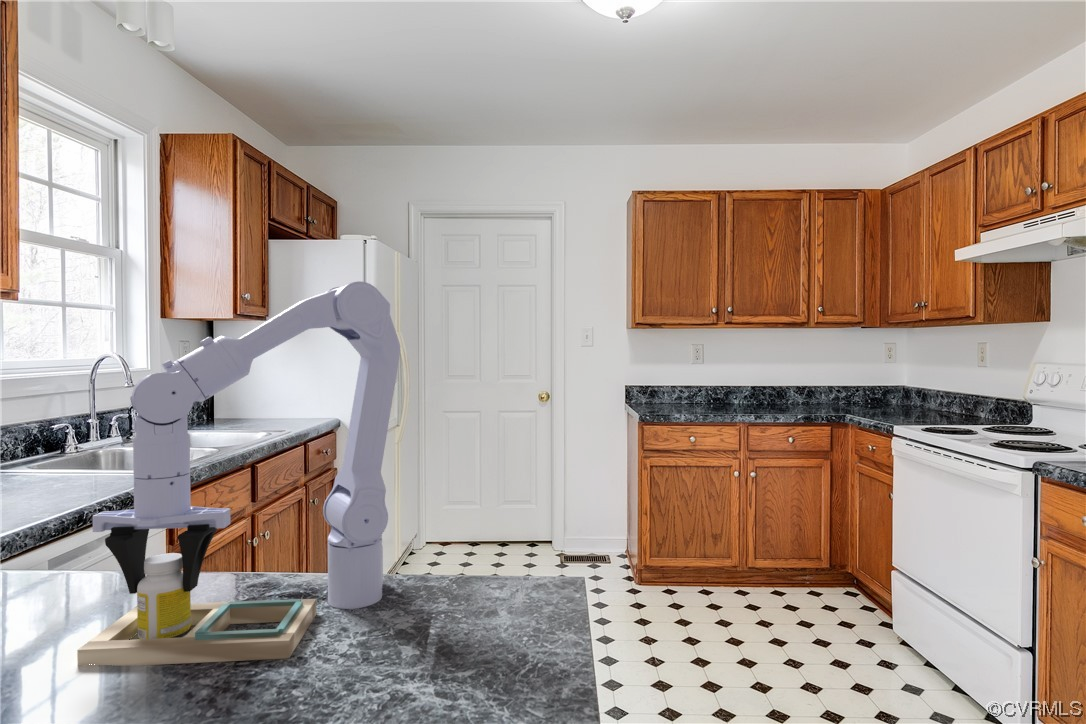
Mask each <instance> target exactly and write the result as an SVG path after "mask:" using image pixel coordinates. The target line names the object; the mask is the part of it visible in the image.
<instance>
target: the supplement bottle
mask: <svg viewBox="0 0 1086 724" xmlns="http://www.w3.org/2000/svg"><path fill="white" fill-rule="evenodd" d="M144 573H145V574H146V577H144V578H143V579H142V580H141V581H140V582H139V583H138V586H137V593H136V595H137V598H136V599H137V601H136V602H137V604H136V606H137V620H138V633H137V639H158V638H181V637H185V636H186V635H187V634H188V633H189V632H190V631H191V630H192V626H191V604H192V603H191V591H187V592H184V589H183V561H182V554H181V553H179V552H178V553H177V552H169V553H167V552H166V553H160V554H156V555H155V554H154V555H153V556H152V555H151V556H149V557H148V558H145V561H144Z"/></svg>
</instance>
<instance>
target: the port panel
mask: <svg viewBox="0 0 1086 724" xmlns="http://www.w3.org/2000/svg"><path fill="white" fill-rule="evenodd" d="M317 610H318V609H317V598H306V599H304V598H303V599H302V598H297V599H296V598H294V599H293V598H292V599H291V598H290V599H270V600H269V599H267V600H243V601H241V600H239V601H224V602H220V601H219V602H201V603H200V602H199V603H198V602H197V603H196V602H195V603H191V627H192V626H193V628H191V631H190V632H189V633H188V634H187V635H186V636H185V637H181V638H158V639H138V638H136V639H132V638H134V637H135V636H136V635H137V634H138V620H137V605H136V606H135V607H133V608H132V609H131V610H129V611H128V612H126V613H125V614H124V615H122V616H121V617H120V618H118V619H117V620H116V621H115V622H113V623H112V624H111V625H109V626H108V627H106V628H105V629H103V630H102V631H101V632H99V633H98V634H97V635H95V636H94V637H93V638H91V639H90V640H89V641H88V642H86V643H85V644H83V645H82V646H81V647H79V648H78V649H77V650H76V651H77V654H76V655H77V666H78V667H81V665H89V664H90V665H91V664H92V665H94V664H95V665H109V666H110V665H112V666H113V665H114V666H155V665H157V666H158V665H171V664H172V665H173V664H175V665H178V664H196V663H197V664H198V663H200V664H201V663H218V662H238V661H242V662H243V661H259V660H282V659H285V660H286V659H290V658H291V656H292V655H293V653H294V651H295V650H296V649H297V646H298V645H299V644H300V642H301V640H302V638H303V636H304V635H305V633H306V632H307V631H308V629H309V627H310V625H311V624H312V622H313V621H314V619H315V617H316V615H317ZM261 623H279V624H278V625H277V627H276V628H271V629H270V628H269V629H267V628H266V629H248V630H247V629H246V630H245V629H244V630H226V629H227V628H228V627H229V626H230V625H235V624H237V625H238V624H239V625H241V624H261ZM136 633H137V634H136ZM135 634H136V635H135ZM134 635H135V636H134ZM133 636H134V637H133ZM131 637H132V638H131ZM130 638H131V639H130ZM129 639H130V640H129ZM79 665H80V666H79ZM112 666H111V667H112ZM114 666H113V667H114Z"/></svg>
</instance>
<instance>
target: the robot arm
mask: <svg viewBox="0 0 1086 724" xmlns="http://www.w3.org/2000/svg"><path fill="white" fill-rule="evenodd" d="M323 328H330V330H332V331H334V332H335V333H337V334H339V335H340V336H341V337H343V338H345V339H346V340H347V341H348V343H349V344H351V347H353V349H355V351H356V352H357V353H358V355H359V356H360V361H359V365H358V366H359V367H358V372H357V379H356V384H355V390H354V394H353V395H354V396H353V402H352V408H351V413H350V420H349V427H348V433H347V437H346V444H345V450H344V455H343V462H342V466H341V468H340V470H339V471H338V472H337V474H336V476H335V477H334V482H333V486H332V489H331V490H330V493H329V494H328V495H327V497H326V499H325V500H324V504H323V507H322V514H323V517H324V520H325V522H326V523H327V524H328V525H329V527H330V528H331V529H330V532H329V534H328V536H327V603H328V605H329V606H331V607H333V608H335V609H343V610H344V609H345V610H352V609H361V608H365V607H369V606H371V605H375V604H376V603H379V602H380V601H381V599H382V598H383V585H384V555H383V554H384V549H383V548H384V547H383V533H384V532H385V531H386V528H387V526H388V523H389V522H388V521H389V511H388V509H387V506H386V500H385V499H386V494H387V488H386V485H385V483H384V480H383V475H382V467H383V461H384V455H385V448H386V442H387V436H388V429H389V423H390V418H391V412H392V405H393V398H394V392H395V388H396V387H395V386H396V380H397V373H398V368H399V361H400V356H401V342H400V340H399V337H398V334H397V332H396V329H395V325H394V323H393V319H392V317H391V303H390V302H389V301H388V300H387V298H386V297H385V296H384V295H383V293H382V292H380V291H379V290H378V288H377V287H375V285H373V284H371V283H370V282H367V281H366V282H365V281H359V280H358V281H353V282H352V281H351V282H350V283H348V284H346V285H343V286H335V287H331V288H329V289H328V290H327V291H325V292H322V293H319V294H316V295H313V296H311V297H308V298H305V299H303V300H300V301H298V302H296V303H295V304H293V305H291V306H289V307H288V308H287V309H285V310H283V311H282V312H280V313H278V314H277V315H274V316H273V317H271V318H270V319H268V320H267V321H265V322H263V323H261V324H260V325H258V326H257V327H255V328H253V329H252V330H250V331H248V332H247V333H245V334H244V335H241V336H240V337H238V338H233V337H231V336H225V335H220V336H217V337H216V338H213V337H212V336H207V337H206V338H204V339H202V340H200V341H199V344H200V345H201V346H200V347H198V348H196V349H194V350H193V351H191V352H189V353H187V354H186V355H184V356H181V357H180V358H178V359H176V360H175V361H172V360H171V359H168V360H166V361H165V362H163V363H162V364H161V366H162V367H163V368H164V370H165V371H160V372H159V371H158V372H153V373H151V374H148V375H145V376H143V377H142V378H141V379H140V380H138V381H137V383H136V384H135V386H134V387H133V389H132V392H131V394H132V395H131V396H130V397H129V399H130V404H131V407H132V408H133V410H134V411H135V412H136V413H137V415H135V420H134V422H133V430H134V432H135V435H134V436H133V439H132V445H133V446H132V449H133V452H132V454H133V455H132V456H133V457H132V458H133V462H132V463H133V508H132V509H124V510H111V511H110V510H109V511H100V512H98V513H95V514H94V515H92V532H93V533H101V532H105V531H110V534H109V536H107V537H106V538H105V539H104V544H105V546H106V547H107V549H109V551H110V552H111V553H112V555H113V556H114V558H115V560H116V561H117V564H118V565H119V567H120V568H121V571H122V574H123V577H124V579H125V582H126V586H127V590H128V592H129V594H131V595H133V594H136V595H137V586H138V583H139V582H140V581H141V580H142V579H143V578H144V577H146V574H145V573H144V561H145V560H146V553H147V545H148V537H149V532H150V530H154V529H155V530H156V529H158V530H159V529H160V530H161V529H162V530H163V529H186V530H185V531H183V532H182V533H179V534H178V535H177V541H178V544H179V548H180V554H182V561H183V568H182V571H183V589H184V592H187V591H190V592H191V591H193V590H194V589H195V588H196V587H197V586H198V583H199V578H200V574H201V568H202V565H203V562H204V559H205V556H206V553H207V551H208V549H209V546H210V544H211V542H212V540H213V538H214V536H215V535H216V533H217V530H218V529H225V528H227V527H228V526H229V525H231V520H232V519H231V508H227V507H225V508H223V507H221V508H219V507H218V508H217V507H203V506H191V505H192V504H191V502H192V501H191V499H192V498H191V495H192V494H191V439H190V438H191V437H190V436H191V435H190V433H188V432H189V430H188V428H189V427H188V414H189V413H190V412H191V410H192V408H193V406H194V403H196V402H200V403H203V402H205V401H206V400H209V398H211V397H213V396H214V395H217V394H218V393H220V392H221V391H223V390H224V389H226V388H228V387H230V386H232V385H233V384H235V383H236V382H238V381H240V380H241V379H243V378H245V377H246V376H248V375H249V374H250V371H251V367H252V363H253V361H254V359H256V358H258V357H260V356H262V355H263V354H265V353H267V352H269V351H271V350H272V349H275V348H276V347H278V346H280V345H282V344H283V343H286V342H287V341H289V340H291V339H293V338H295V337H297V336H298V335H300V334H302V333H304V332H305V331H308V330H311V329H323Z"/></svg>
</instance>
